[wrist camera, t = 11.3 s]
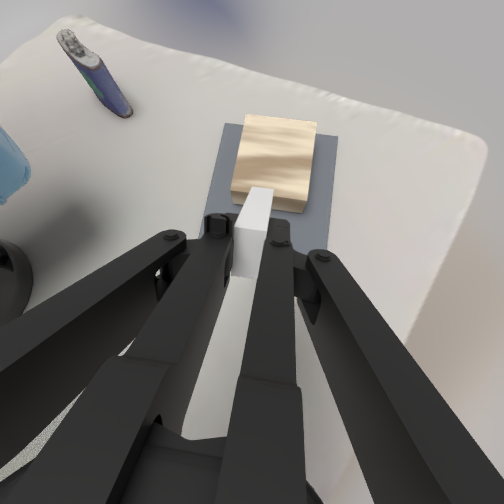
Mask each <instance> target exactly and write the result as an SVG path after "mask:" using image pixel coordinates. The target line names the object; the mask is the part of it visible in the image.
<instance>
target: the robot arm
mask: <svg viewBox="0 0 504 504" xmlns="http://www.w3.org/2000/svg"><path fill="white" fill-rule="evenodd" d="M30 176H31V168H30V164H29V162H28V160H27V158H26V157H25V155H24V154H23V152H22V151H21V150H20V148H19V147H18V146H17V145H16V143H15V142H14V141H13V140H12V139H11V138H10V136H9V135H8V134H7V133H6V132H5V131H4V130H3V129H2V127H1V126H0V205H4V204H5V203H6V201H7V198H8V197H10V196H11V195H12V194H13V193H15V192H16V191H17V190H18V189H20V188H21V187H22V186H23V185H25V184H26V183H27V182H28V181H29V179H30ZM273 193H274V189H268V188H260V187H252V188H251V190H250V192H249V194H248V196H247V199H246V201H245V203H244V205H243V208H242V210H241V212H240V214H235V213H228V212H227V213H225V214H222V213H211V214H208V215H206V216H204V234H203V236H202V237H201V239H192V240H186V234H185V233H184V232H182V231H179V230H173V229H171V230H166V231H162V232H160V233H158V234H156V235H155V236H153V237H151V238H150V239H148V240H146V241H145V242H143V243H141V244H140V245H138V246H136V247H135V248H133V249H131V250H130V251H128V252H126V253H125V254H123V255H121V256H120V257H118V258H116V259H114V260H113V261H111V262H109V263H108V264H106V265H104V266H103V267H101V268H99V269H98V270H96V271H94V272H93V273H91V274H89V275H88V276H86V277H84V278H83V279H81V280H79V281H78V282H76V283H74V284H73V285H71V286H69V287H68V288H66V289H64V290H63V291H61V292H59V293H57V294H56V295H54V296H52V297H51V298H49V299H47V300H46V301H44V302H42V303H41V304H39V305H37V306H36V307H34V308H32V309H31V310H29V311H27V312H26V313H24V314H22V315H21V313H22V311H23V310H24V308H25V306H26V304H27V301H28V299H29V296H30V292H31V287H32V271H31V266H30V263H29V261H28V259H27V257H26V255H25V254H24V253H23V252H22V251H21V250H20V249H19V248H18V247H17V246H15V245H14V244H12V243H9V242H7V241H3V240H0V469H1V468H2V467H3V466H4V465H6V464H7V463H8V462H9V461H10V460H12V459H13V458H14V457H15V456H16V455H17V454H19V453H20V452H21V451H22V450H23V449H24V448H25V447H26V446H27V445H28V444H29V443H30V442H31V441H32V440H33V439H34V438H36V437H37V436H38V435H39V434H40V433H41V432H42V431H43V430H44V429H45V428H46V427H47V426H48V425H49V424H50V423H51V422H52V421H53V420H54V419H55V418H56V417H57V416H58V415H59V414H60V413H61V412H62V411H63V410H64V409H65V408H66V407H67V406H68V405H69V404H70V403H71V402H72V401H73V400H74V399H75V398H76V397H77V396H78V395H79V394H80V393H81V392H82V391H83V390H84V389H85V390H84V391H83V392H82V394H81V395H80V397H79V398H78V399H77V401H76V402H75V404H74V405H73V406H72V408H71V409H70V410H69V412H68V413H67V415H66V416H65V417H64V419H63V420H62V422H61V423H60V424H59V426H58V427H57V429H56V430H55V431H54V433H53V434H52V436H51V437H50V438H49V440H48V441H47V443H46V444H45V445H44V447H43V448H42V450H41V451H40V452H39V454H38V455H37V457H36V458H34V459H33V460H31V461H30V462H28V463H27V464H26V465H24V466H23V467H21V468H20V469H18V470H17V471H15V472H14V473H13V474H11V475H10V476H8V477H7V478H5V479H4V480H2V481H1V482H0V504H323V502H322V500H321V499H320V497H319V496H318V495H317V493H316V492H315V490H314V489H313V488H312V486H311V485H310V484H309V483H308V482H307V481H306V474H305V452H304V430H303V407H302V394H301V389H300V387H297V384H296V355H295V317H294V296H295V297H297V303H298V306H299V308H300V311H301V313H302V316H303V319H304V321H305V324H306V327H307V329H308V332H309V334H310V337H311V340H312V342H313V345H314V347H315V350H316V353H317V355H318V358H319V360H320V363H321V366H322V368H323V371H324V373H325V376H326V379H327V381H328V384H329V387H330V389H331V392H332V394H333V397H334V400H335V402H336V405H337V407H338V410H339V413H340V415H341V418H342V420H343V423H344V426H345V428H346V431H347V433H348V436H349V439H350V441H351V444H352V447H353V449H354V452H355V454H356V457H357V459H358V462H359V465H360V467H361V470H362V472H363V475H364V478H365V480H366V483H367V486H368V488H369V491H370V494H371V496H372V498H373V501H374V504H504V479H503V478H502V476H501V475H500V474H499V472H498V471H497V470H496V468H495V467H494V466H493V464H492V463H491V462H490V460H489V459H488V458H487V456H486V455H485V454H484V452H483V451H482V450H481V448H480V447H479V446H478V445H477V443H476V442H475V440H474V439H473V438H472V436H471V435H470V434H469V432H468V431H467V429H466V428H465V427H464V425H463V424H462V423H461V421H460V420H459V419H458V417H457V416H456V415H455V414H454V412H453V411H452V409H451V408H450V407H449V405H448V404H447V403H446V401H445V400H444V399H443V397H442V396H441V395H440V393H439V392H438V391H437V389H436V388H435V387H434V385H433V384H432V383H431V381H430V380H429V379H428V377H427V376H426V375H425V373H424V372H423V371H422V369H421V368H420V367H419V365H418V364H417V363H416V361H415V360H414V359H413V357H412V356H411V355H410V353H409V352H408V351H407V349H406V348H405V347H404V345H403V344H402V343H401V341H400V340H399V339H398V337H397V336H396V335H395V333H394V332H393V331H392V329H391V328H390V327H389V325H388V324H387V323H386V321H385V320H384V319H383V317H382V316H381V314H380V313H379V312H378V310H377V309H376V308H375V306H374V305H373V304H372V302H371V301H370V300H369V298H368V297H367V296H366V294H365V293H364V292H363V290H362V289H361V288H360V286H359V285H358V284H357V282H356V281H355V280H354V278H353V277H352V276H351V274H350V273H349V272H348V270H347V269H346V268H345V266H344V265H343V264H342V262H341V261H340V260H339V258H338V257H337V256H336V255H335V254H333V253H332V252H330V251H328V250H324V249H313V250H311V251H309V252H308V255H305V254H302V253H299V252H297V251H296V250H294V249H293V245H292V242H291V241H290V223H289V222H288V221H287V220H286V219H278V218H271V217H270V215H271V207H272V200H273ZM231 268H232V269H231ZM159 269H160V274H159V275H158V276H155V274H156V272H157V271H158V270H159ZM230 271H231V276H238V277H245V278H251V279H257V283H256V289H255V294H254V300H253V305H252V311H251V316H250V322H249V327H248V332H247V338H246V343H245V349H244V354H243V360H242V365H241V371H240V375H239V377H238V381H237V386H236V391H235V396H234V402H233V407H232V412H231V418H230V423H229V428H228V434H227V437H218V438H210V439H201V440H187V439H185V438H183V437H181V432H182V426H183V421H184V418H185V414H186V411H187V408H188V405H189V402H190V399H191V396H192V393H193V390H194V387H195V384H196V381H197V378H198V375H199V372H200V369H201V366H202V363H203V360H204V357H205V354H206V351H207V348H208V345H209V342H210V339H211V336H212V333H213V329H214V326H215V323H216V320H217V317H218V314H219V311H220V308H221V305H222V302H223V299H224V296H225V293H226V290H227V287H228V284H229V279H230ZM20 315H21V316H20ZM134 339H135V340H134ZM133 340H134V341H133ZM132 341H133V343H132V344H131V346H130V347H129V349H128V350H127V351H126V353H125V354H124V355H122V356H118V355H119V354H120V353H121V352H122V351H123V350H124V349H125V348H126V347H127V346H128V345H129V344H130V343H131V342H132Z"/></svg>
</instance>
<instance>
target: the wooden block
mask: <svg viewBox="0 0 504 504" xmlns="http://www.w3.org/2000/svg"><path fill="white" fill-rule="evenodd" d="M316 126H317V122H311V121H302V120H293V119H285V118H276V117H267V116H259V115H250V114H246V116H245V121H244V126H243V131H242V135H241V140H240V145H239V150H238V154H237V159H236V164H235V169H234V174H233V178H232V183H231V188H230V192H231V196H232V200H233V204H240V205H244V203H245V201H246V199H247V196H248V194H249V192H250V190H251V188H252V187H260V188H268V189H274V193H273V200H272V207H271V209H275V210H282V211H289V212H296V213H302V212H303V210H304V207H305V205H306V202H307V198H308V190H309V182H310V174H311V166H312V158H313V150H314V142H315V134H316Z"/></svg>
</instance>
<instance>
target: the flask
mask: <svg viewBox="0 0 504 504" xmlns="http://www.w3.org/2000/svg"><path fill="white" fill-rule="evenodd" d="M57 40H58V42H59V44H60V45H61V47H62V48H63V50H64V51H65V52H66V54H67V55H68V57H69V58H70V59H71V60H72V62H73V63H74V65H75V66H76V67H77V69H78V70H79V71H80V73H81V74H82V75H83V77H84V78H85V80H86V81H87V83H88V84H89V85H90V87H91V88H92V89H93V91H94V93H95V94H96V96H97V98H98V99H99V100H100V101H101V103H102V104H103V105H104V106H105V107H107V108H108V109H110V110H111V111H112V112H114V113H115V114H116V115H118V116H120V117H122V118H128V117H129V116H126V115H131V114H133V112H132V108H131V106H130V105H129V104H128V102H127V100H126V99H125V97H124V96H123V94H122V92H121V91H120V89H119V88H118V86H117V84H116V83H115V81H114V80H113V78H112V76H111V74H110V73H109V71H108V70H107V68H106V66H105V65H104V63H103V61H102V59H101V58H100V57H99V56H98V55H96V54H94V53H93V52H91V51H90V50H88V49H87V48H86V47H85V46H83V45H82V44H81V43H80V42H79V41H78V40H77V38H76V36H75V34H74V32H72V31H71V30H69V29H68V30H66V29H64V30H61V31H60V32H58V33H57Z"/></svg>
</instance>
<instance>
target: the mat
mask: <svg viewBox="0 0 504 504" xmlns="http://www.w3.org/2000/svg"><path fill="white" fill-rule="evenodd" d="M243 126H244V125H237V124H229V123H225V125H224V129H223V134H222V138H221V142H220V147H219V151H218V155H217V159H216V164H215V168H214V172H213V177H212V181H211V185H210V190H209V194H208V198H207V203H206V207H205V211H204V216H206V215H208V214H211V213H222V214H225V213H227V212H228V213H235V214H240V212H241V210H242V208H243V205H240V204H233V200H232V196H231V192H230V188H231V183H232V178H233V174H234V169H235V164H236V159H237V154H238V150H239V145H240V140H241V135H242V131H243ZM337 140H338V136H330V135H321V134H315V142H314V150H313V158H312V166H311V174H310V182H309V190H308V198H307V202H306V205H305V207H304V210H303V212H302V213H296V212H289V211H282V210H275V209H271V215H270V217H271V218H278V219H286V220H287V221H288V222H289V223H290V241H291V242H292V245H293V249H294V250H296V251H297V252H299V253H302V254H305V255H308V252H309V251H311V250H313V249H324V250H327V240H328V230H329V220H330V210H331V200H332V190H333V180H334V170H335V160H336V150H337ZM204 216H203V220H202V224H201V228H200V233H199V237H198V239H201V237H202V236H203V234H204Z"/></svg>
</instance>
